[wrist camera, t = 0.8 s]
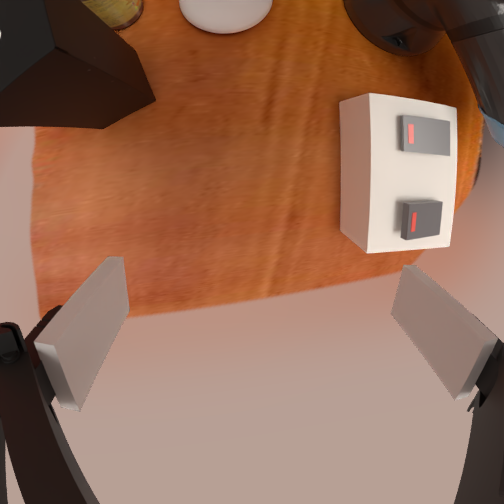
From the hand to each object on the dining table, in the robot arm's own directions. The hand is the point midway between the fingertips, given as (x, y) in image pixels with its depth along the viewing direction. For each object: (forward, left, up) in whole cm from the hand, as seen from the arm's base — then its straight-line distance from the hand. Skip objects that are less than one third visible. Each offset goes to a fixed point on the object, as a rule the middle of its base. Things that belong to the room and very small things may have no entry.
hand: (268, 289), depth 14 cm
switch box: (-18, +7, -26) cm, 32 cm away
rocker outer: (-16, +11, -16) cm, 24 cm away
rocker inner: (-20, +3, -16) cm, 26 cm away
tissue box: (+5, -20, -26) cm, 34 cm away
